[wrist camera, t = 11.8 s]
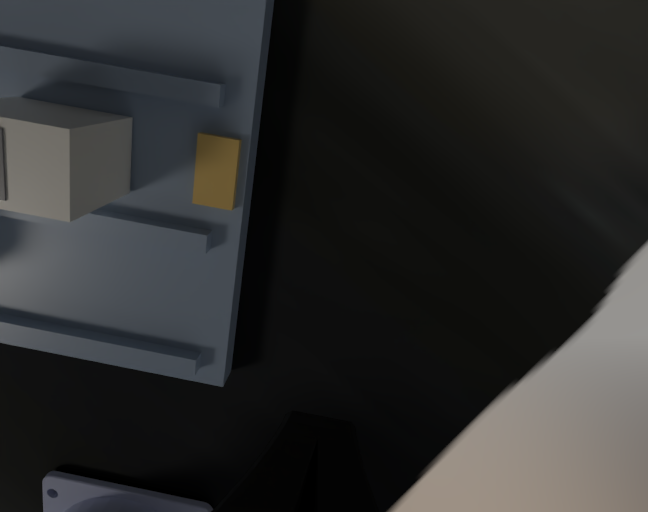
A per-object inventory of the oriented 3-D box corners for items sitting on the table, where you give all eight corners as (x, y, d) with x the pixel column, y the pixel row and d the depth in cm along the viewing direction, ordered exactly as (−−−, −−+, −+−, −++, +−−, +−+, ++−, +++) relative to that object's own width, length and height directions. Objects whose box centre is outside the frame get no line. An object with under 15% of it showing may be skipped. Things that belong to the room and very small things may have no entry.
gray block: (130, 192, 18) (68, 222, 15) (20, 172, 19) (-68, 197, 15) (132, 117, 18) (68, 129, 14) (17, 96, 18) (-77, 103, 14)
